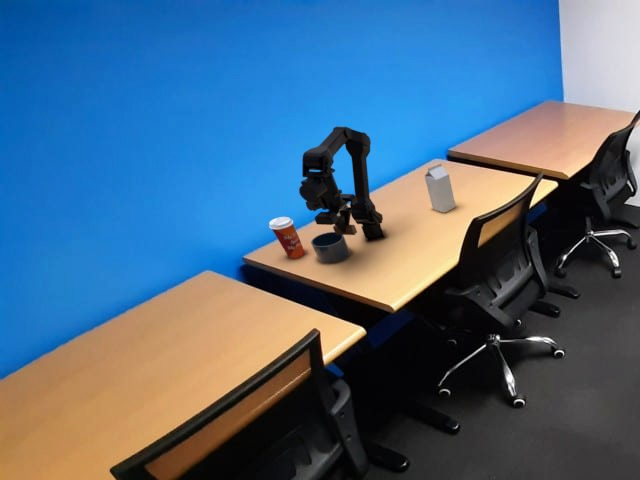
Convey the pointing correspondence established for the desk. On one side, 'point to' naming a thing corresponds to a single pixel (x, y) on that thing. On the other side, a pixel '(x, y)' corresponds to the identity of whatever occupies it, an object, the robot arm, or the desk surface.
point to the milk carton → (440, 188)
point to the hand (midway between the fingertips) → (345, 230)
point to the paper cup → (287, 236)
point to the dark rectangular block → (346, 230)
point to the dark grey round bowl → (330, 247)
